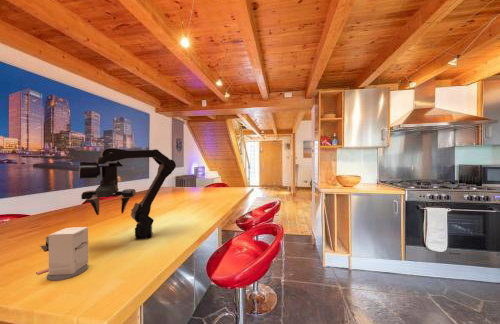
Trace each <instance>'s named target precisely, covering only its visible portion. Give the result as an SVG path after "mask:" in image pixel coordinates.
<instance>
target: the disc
mask: <svg viewBox="0 0 500 324" xmlns="http://www.w3.org/2000/svg"><path fill="white" fill-rule="evenodd" d="M88 264H89V263H87V264H86V265H84V266H83V267H82V268H80V269H79V270H77V271H76V272H75V273H74V274H64V275H49V272H48V273H47V275H46V279H47V280H48V281H52V282H57V281H63V280H69V279H72V278H74V277H78V276H79V275H81V274H83V273H84V272H86V271H87V270H88V269H89V265H88Z"/></svg>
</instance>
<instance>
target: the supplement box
mask: <svg viewBox="0 0 500 324" xmlns="http://www.w3.org/2000/svg"><path fill="white" fill-rule="evenodd" d="M47 237H48V243H49V251H48V268H49V271H48V273H49V275H64V274H74V273H75V272H76V271H77V270H79V269H80V268H82V267H83V266H84V265H86V264H89V227H88V226H77V227H76V226H75V227H65V228H63V229H60V230H58V231H55V232H52V233H50V234H48V236H47Z"/></svg>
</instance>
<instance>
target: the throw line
mask: <svg viewBox="0 0 500 324" xmlns="http://www.w3.org/2000/svg"><path fill="white" fill-rule="evenodd" d="M47 272H48V273H49V267H46V268H44V269H42V270H39V271H36V274H37V275H42V274H44V273H45V274H46V273H47Z"/></svg>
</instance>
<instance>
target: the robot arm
mask: <svg viewBox="0 0 500 324" xmlns="http://www.w3.org/2000/svg"><path fill="white" fill-rule="evenodd" d="M139 158H140V159H143V158H145V159H146V158H152V159H153V161H154V162H155V163H156V164H158V168H157V173H156V176H155V177H154V179H153V180H152V182H151V184H150V186H149V188H148V190H147V191H146V193H145V195H144V197H143V198H142V200H141V201H140V202H139V203H137V202H135V203H134V205H133V208H132V209H131V210H130V217H131V218H132V220H134V221H135V222H136V225H135V226H136V227H134V237H135V238H134V239H135V240H144V239H151V238H152V236H153V234H154V232H153V223H154V221H155V220H154V219H153V218H152V217H150V216H149V215H150V212H151V207H152V204H153V202H154V200H155V198H156V197H157V194H158V193H159V191H160V189H161V187H162V186H163V184H164V182H165V180H166V178H168V177H169V176H170V175H171V174H172V173H173V171H174V170H175V169H176V166H177V164H176V162H175V160H173V159H170V158H169V157H168V156H167V155H165V154H164V153H162V152H161V151H160V150H159V149H156V148H155V149H133V150H132V149H128V150H127V149H120V148H115V147H114V148H113V147H108V148H104V149H102V151H101V152H100V156H99V158H98V159H96V161H95V162H93V161H91V162H90V161H89V162H88V161H87V162H86V161H80V162H79V168H78V179H79V180H87V179H88V180H89V179H90V180H91V179H97V178H98V177H99V176H100V175H101V180H100V183H99V186H98V187H96V189H95V190H86V191H84V192H82V193H81V195H80V196H81V198H80V199H81V200H85V202H89V203H90V204H91V206H92V208H93V210H94V212H95V214H96V216H99V215H100V198H110V197H116V196H118V197H119V196H122V198H121V197H120V198H121V214H124V213H125V209H126V207H127V205H128V202H129V200H130V199H131V198H133V197H135V196H136V195H137V192H136V189H135V188H128V189H127V188H125V189H123V190H120V191H119V188H118V186H119V185H118V184H119V178H118V174H119V173H118V171H119V170H118V168H119V167H123V166H124V164H122V163H121V162H120V161H122V160H126V159H139ZM106 163H107V165H105V164H106Z"/></svg>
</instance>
